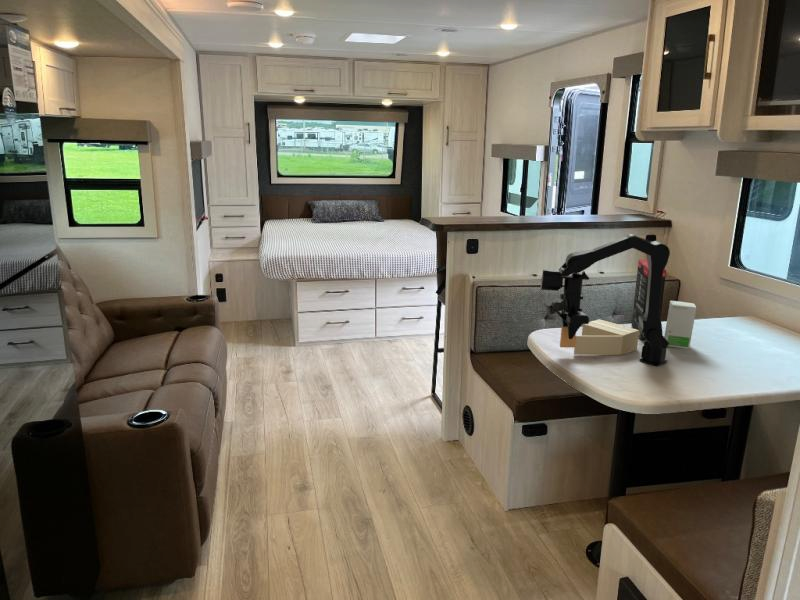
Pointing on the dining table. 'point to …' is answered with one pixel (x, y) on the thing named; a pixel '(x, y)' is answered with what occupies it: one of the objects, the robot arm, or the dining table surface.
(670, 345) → the skincare box
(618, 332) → the carton
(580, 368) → the dining table surface
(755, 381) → the dining table surface
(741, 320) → the dining table surface
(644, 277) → the graphics card box
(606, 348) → the carton flap
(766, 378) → the dining table surface
